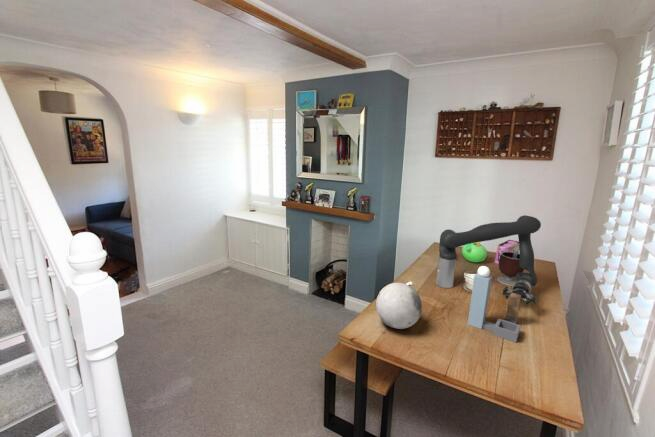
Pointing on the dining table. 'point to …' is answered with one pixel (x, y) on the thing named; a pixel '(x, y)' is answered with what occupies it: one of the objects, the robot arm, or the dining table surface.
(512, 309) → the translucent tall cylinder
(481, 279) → the post
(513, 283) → the mate gourd
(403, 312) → the moon model
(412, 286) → the bull figurine
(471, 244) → the green rounded lump
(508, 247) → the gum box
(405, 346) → the dining table surface
